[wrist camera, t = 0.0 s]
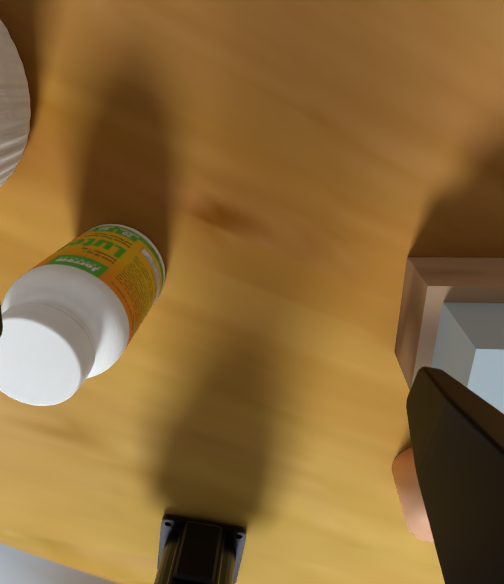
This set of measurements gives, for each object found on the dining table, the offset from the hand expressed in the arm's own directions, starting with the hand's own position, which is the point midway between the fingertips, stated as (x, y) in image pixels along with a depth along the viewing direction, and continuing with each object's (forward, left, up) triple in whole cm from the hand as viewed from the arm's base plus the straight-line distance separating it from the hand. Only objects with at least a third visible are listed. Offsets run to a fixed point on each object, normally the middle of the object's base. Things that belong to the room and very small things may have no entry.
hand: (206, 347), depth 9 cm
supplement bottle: (-5, +7, -15) cm, 17 cm away
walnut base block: (-4, -12, -15) cm, 20 cm away
